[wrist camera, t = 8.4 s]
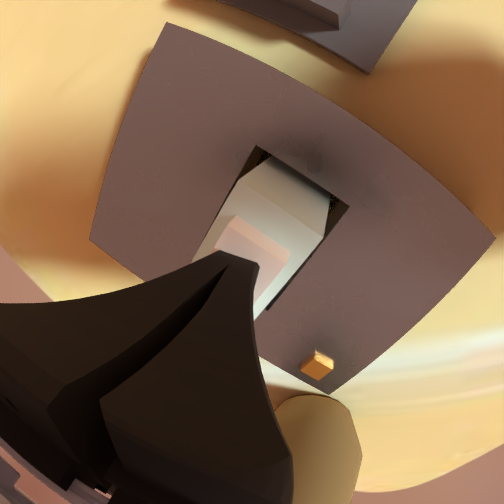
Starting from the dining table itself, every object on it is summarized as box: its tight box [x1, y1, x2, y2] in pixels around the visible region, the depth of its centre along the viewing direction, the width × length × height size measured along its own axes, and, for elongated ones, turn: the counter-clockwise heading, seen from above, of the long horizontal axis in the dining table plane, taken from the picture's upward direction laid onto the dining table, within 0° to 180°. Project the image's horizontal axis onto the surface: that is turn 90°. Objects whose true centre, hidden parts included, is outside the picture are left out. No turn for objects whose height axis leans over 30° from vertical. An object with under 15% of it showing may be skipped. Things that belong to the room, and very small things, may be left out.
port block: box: [89, 22, 496, 395], centre depth 14 cm, size 16×12×3 cm
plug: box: [190, 155, 331, 320], centre depth 13 cm, size 3×5×7 cm, turn 149°
